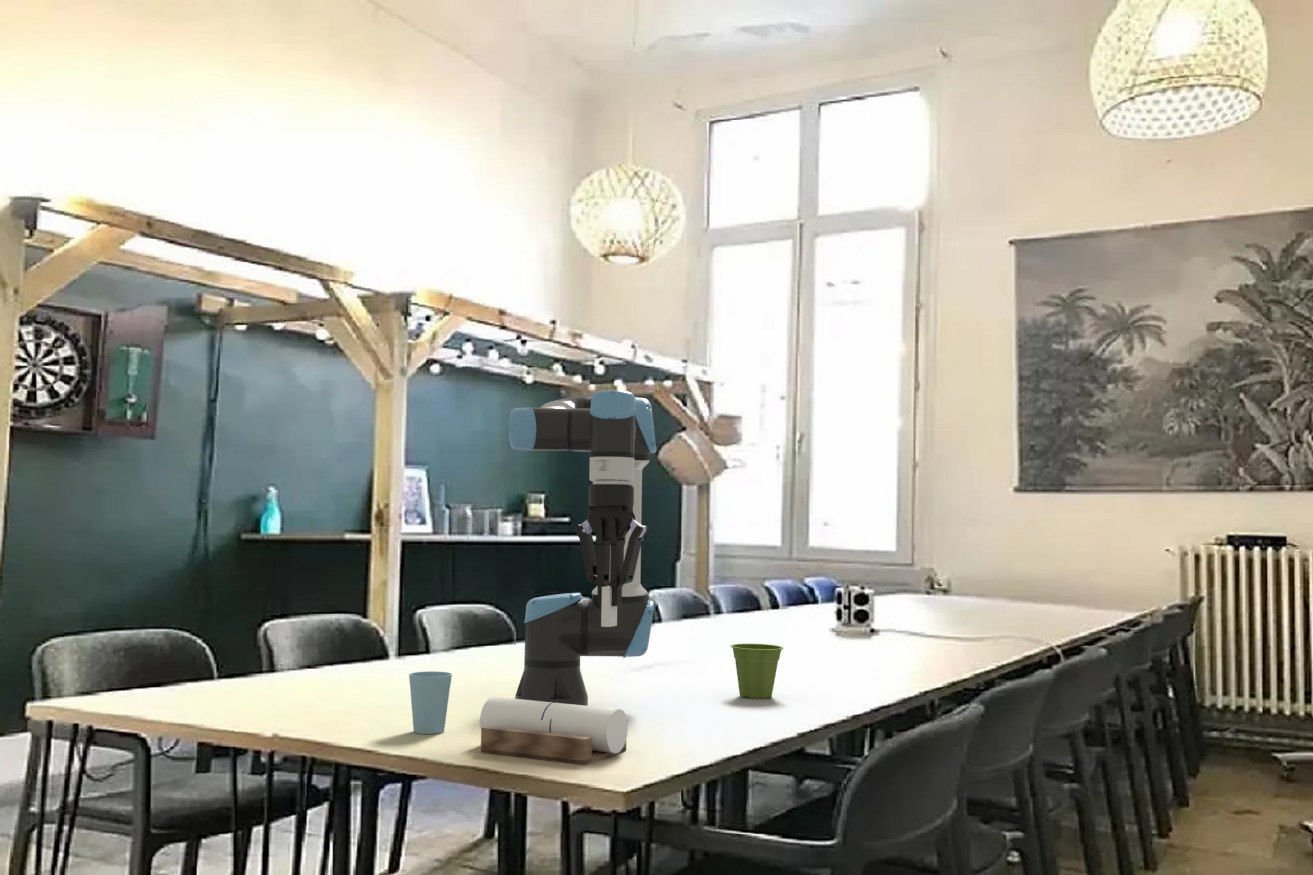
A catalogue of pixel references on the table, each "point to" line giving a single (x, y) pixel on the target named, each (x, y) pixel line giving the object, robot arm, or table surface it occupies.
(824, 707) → the table surface
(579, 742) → the walnut U-channel
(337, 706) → the table surface
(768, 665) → the plant pot
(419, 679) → the cup
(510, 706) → the cylindrical container
